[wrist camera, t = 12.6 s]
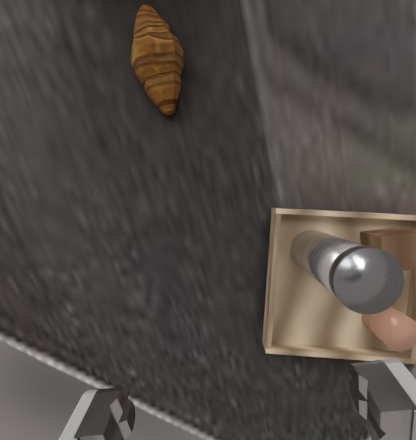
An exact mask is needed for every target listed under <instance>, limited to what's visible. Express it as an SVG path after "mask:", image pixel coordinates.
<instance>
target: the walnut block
mask: <svg viewBox="0 0 416 440" xmlns="http://www.w3.org/2000/svg"><path fill="white" fill-rule="evenodd" d="M360 241H361V245H364V246H371V247H375V248H378V249H381V250H384V251H386V252H388V253H390V254H391V255H393V256H394V257H395V258H396V259H397V260H398V262H399V263H400V265H401V266H402V269H403V271H407V270H416V231H410V230H404V229H398V228H387V229H379V230H370V231H361V232H360Z"/></svg>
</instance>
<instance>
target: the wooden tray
mask: <svg viewBox="0 0 416 440" xmlns="http://www.w3.org/2000/svg"><path fill="white" fill-rule="evenodd" d="M387 228H398V229H404V230H410V231H416V215H408V214H388V213H368V212H348V211H329V210H309V209H289V208H272V212H271V226H270V240H269V254H268V268H267V282H266V296H265V310H264V324H263V338H262V343H263V346H264V349H265V352H266V353H268V354H282V355H296V356H309V357H323V358H337V359H351V360H364V361H376V360H380V361H381V360H388V359H398V360H400V361H401V362H402V363H406V364H415V362H416V344H415V346H413V347H412V348H410V349H408V350H405V351H396V350H393V349H391V348H389V347H388V346H387V345H386V344H385V343H384V342H382V341H381V340H380V339H379V338H378V337H377V336H376V335H374V334H373V333H372V332H371V331H370V330H369V329H368V328H366V327H365V325H364V324H363V322H362V314H360V313H356V312H354V311H352V310H350V309H348V308H347V307H346V306H345V305H343V304H342V303H341V302H340V301H339V300H338V299H337V298H336V297H335V296H334V295H333V294H332V293H331V292H330V291H329V290H327V289H326V288H325V287H324V286H323V285H321V284H320V283H319V282H318V281H317V280H315V279H314V278H313V277H312V276H311V275H309V274H308V273H307V272H306V271H305V270H303V269H302V268H301V267H300V266H299V265H297V264H296V263H295V261H294V260H293V258H292V256H291V244H292V241H293V240H294V238H295V237H296V236H297V235H298V234H299V233H301V232H303V231H306V230H317V231H320V232H324V233H327V234H330V235H333V236H336V237H339V238H342V239H346V240H349V241H352V242H355V243H358V244H361V241H360V232H361V231H370V230H379V229H387ZM403 272H404V278H405V281H404V288H403V291H402V294H401V296H400V297H399V299H398V300H397V301H396V303H395V304H394V305H392V307H394V308H395V309H397V310H398V311H400V312H402V313H403V314H405V315H407V316H408V317H410V318H411V319H413V320H414V321H415V322H416V270H407V271H403Z"/></svg>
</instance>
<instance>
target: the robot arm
mask: <svg viewBox="0 0 416 440" xmlns="http://www.w3.org/2000/svg"><path fill="white" fill-rule="evenodd" d="M349 373H350V374H351V376H352V379H351V380H350V381H349V385H350V392H351V396H352V399H353V401H354V404H355V406H356V408H357V410H358V412H359V414H360V415H361V416H363V417H364V418H365V419H366V420H367V430H368V432H369V434H370V436H371V438H372V440H416V379H415V378H414V377H413V376H412V374H411V373H410V372H409V371H408V369H407V368H406V367H405V366H404V365H403V363H402V362H401V361H400V360H398V359H388V360H381V361H380V360H376V361H367V362H359V363H350V365H349ZM128 395H129V392H128V390H127V388H126V387H123V388H109V389H96V390H87V391H86V392H85V393H84V394H83V395H82V397H81V399H80V401H79V403H78V404H77V406H76V408H75V410H74V412H73V414H72V416H71V418H70V419H69V421H68V423H67V425H66V427H65V429H64V430H63V432H62V435H61V436H60V438H59V439H58V440H126V439H127V437H128V436H129V435H130V434H131V433H132V429H133V426H134V421H135V407H134V404H133V402H132V401H130V400H129V399H128Z"/></svg>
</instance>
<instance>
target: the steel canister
mask: <svg viewBox="0 0 416 440" xmlns="http://www.w3.org/2000/svg"><path fill="white" fill-rule="evenodd" d="M291 256H292V258H293V260H294V261H295V263H296V264H297V265H299V266H300V267H301V268H302V269H303V270H305V271H306V272H307V273H308V274H309V275H311V276H312V277H313V278H314V279H315V280H317V281H318V282H319V283H320V284H321V285H323V286H324V287H325V288H326V289H327V290H329V291H330V292H331V293H332V294H333V295H334V296H335V297H336V298H337V299H338V300H339V301H340V302H341V303H342V304H343V305H345V306H346V307H347V308H348V309H350V310H352V311H354V312H356V313H360V314H376V313H380V312H383V311H385V310H387V309H388V308H390V307H391V306H392V305H394V304H395V303H396V301H397V300H398V299H399V297H400V296H401V294H402V291H403V288H404V281H405V278H404V272H403V269H402V266H401V265H400V263H399V262H398V260H397V259H396V258H395V257H394V256H393V255H391V254H390V253H388V252H386V251H384V250H381V249H378V248H375V247H371V246H364V245H361V244H358V243H355V242H352V241H349V240H346V239H342V238H339V237H336V236H333V235H330V234H327V233H324V232H320V231H317V230H306V231H303V232H301V233H299V234H298V235H297V236H296V237H295V238H294V240H293V241H292V244H291Z"/></svg>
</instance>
